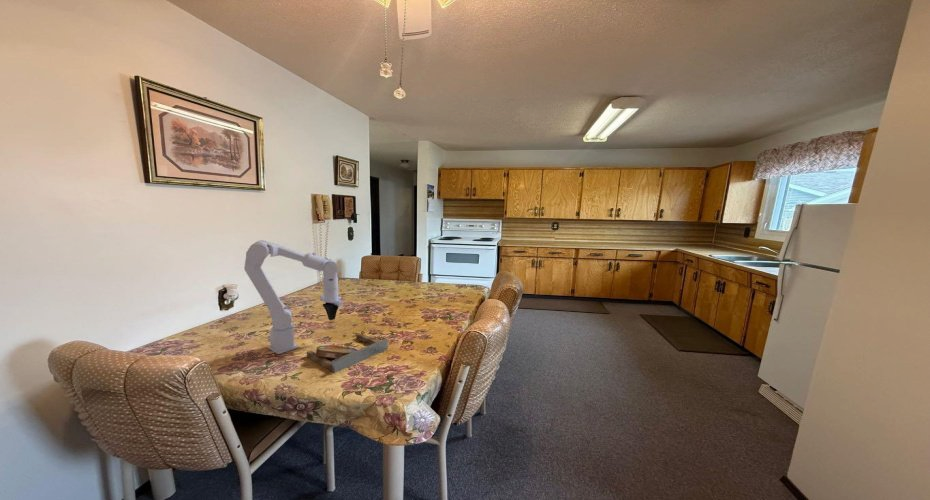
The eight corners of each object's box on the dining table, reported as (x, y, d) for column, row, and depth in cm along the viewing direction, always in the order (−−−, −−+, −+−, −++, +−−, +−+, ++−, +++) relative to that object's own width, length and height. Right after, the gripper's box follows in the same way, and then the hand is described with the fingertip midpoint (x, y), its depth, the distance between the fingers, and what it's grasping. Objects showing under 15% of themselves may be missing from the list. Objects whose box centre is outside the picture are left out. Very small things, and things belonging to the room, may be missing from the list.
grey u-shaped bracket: (306, 356, 115) (306, 346, 114) (359, 337, 133) (359, 328, 133) (334, 372, 104) (334, 361, 103) (387, 349, 122) (387, 339, 122)
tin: (361, 348, 117) (351, 351, 109) (359, 357, 116) (349, 361, 108) (324, 344, 118) (312, 346, 110) (323, 352, 118) (310, 355, 110)
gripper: (349, 289, 126) (350, 320, 127) (330, 284, 134) (331, 313, 136) (333, 292, 120) (334, 325, 122) (314, 287, 128) (316, 317, 130)
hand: (331, 319), depth 128 cm, fingers closed
